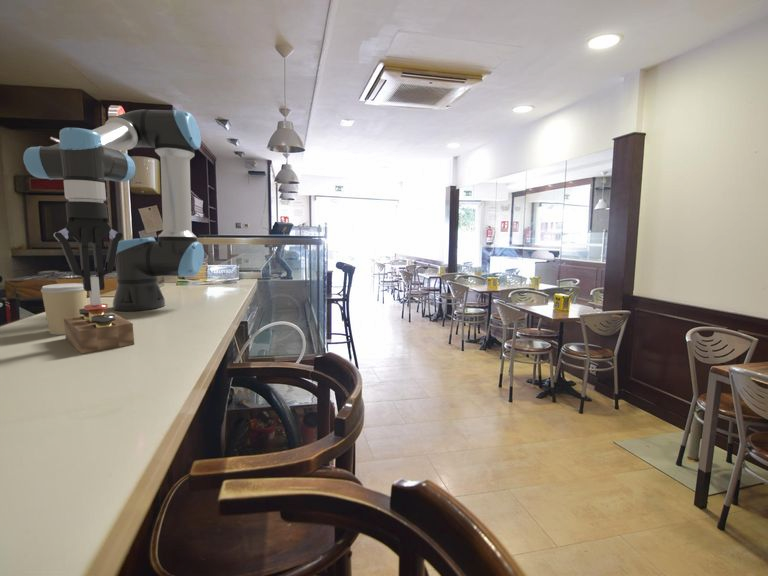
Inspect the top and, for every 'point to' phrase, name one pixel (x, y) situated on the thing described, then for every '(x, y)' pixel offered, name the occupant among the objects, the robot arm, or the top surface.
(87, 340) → the walnut block
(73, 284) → the coffee cup
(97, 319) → the plunger
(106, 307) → the plunger red
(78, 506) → the top surface
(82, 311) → the plunger
